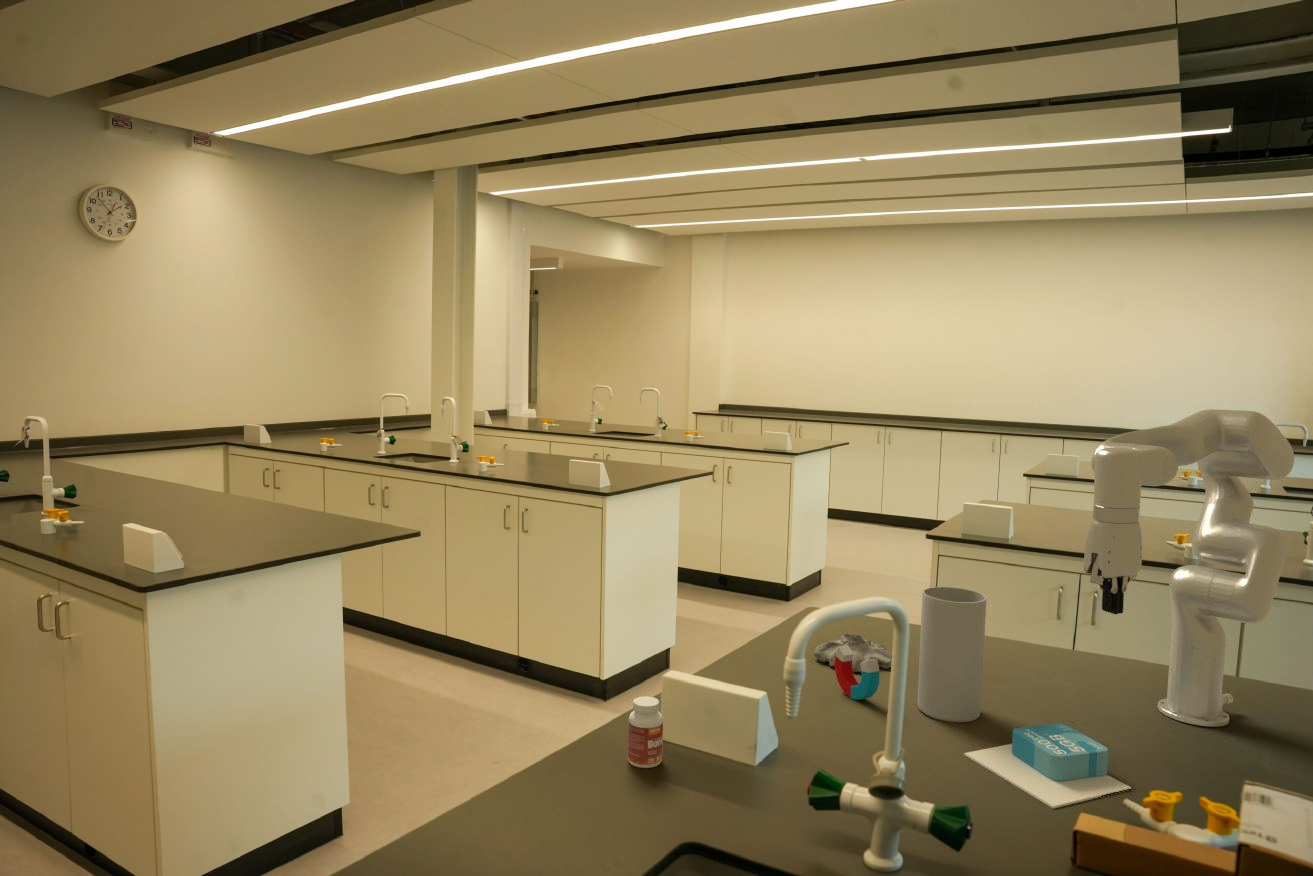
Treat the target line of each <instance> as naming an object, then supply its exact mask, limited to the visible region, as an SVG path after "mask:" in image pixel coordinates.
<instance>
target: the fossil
mask: <svg viewBox="0 0 1313 876" xmlns="http://www.w3.org/2000/svg"><path fill="white" fill-rule="evenodd" d="M862 636H863V635H860V634H848V633H844V634H843V635H841V637H840V639H834V640H830V641H826V642H823V643H821V644H819V645H817V646H816V647H815V650H814V652H813V655H814V656H815V658H816V659H817V660H818V661H819V662H821V663H822V662H823V664H826V663H829V667H830V668H835V656H836V652H837V649H838V647H840V646H846V645H848V646H849V647H850V649H851V650H852V652H853V653H854V656H853V659H852V671H853V673H861V666H860V663H862V662H864V661H866V660H871V659H877V661H878V665H879V669H884V670H885V669H889V668H891V667H890V666H891V657H893V655H892V654H891V653H890V652H889V651H888V650H887V648H886V646H885V644H882V643H881V644H875V643H873V642H872V641H871V639H869V638H867V639H863V638H862ZM833 666H834V667H833Z"/></svg>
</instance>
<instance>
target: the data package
mask: <svg viewBox="0 0 1313 876" xmlns="http://www.w3.org/2000/svg"><path fill="white" fill-rule="evenodd" d="M1011 740H1012V741H1011V744H1012V754H1013V755H1014V756H1016V757H1017V758H1019V759H1020V760H1022V761H1023V762H1025V763H1026V764H1028V765H1030V766H1031V767H1033V768H1034V769H1036V770H1037V771H1039V772H1040V773H1042V774H1043V775H1045V776H1046V777H1048V778H1049V779H1052V780H1055V781H1068V780H1075V779H1082V778H1090V777H1097V776H1104V775H1108V766H1109V749H1108V748H1107V747H1106V746H1105V745H1103V744H1101V743H1100V742H1097V741H1096V740H1095V739H1092V738H1090V737H1089V736H1087V735H1085V734H1083V733H1081V732H1079V731H1078V730H1076V729H1074V728H1072V727H1071V726H1069V725H1066V724H1064V723H1051V724H1041V725H1034V726H1033V725H1032V726H1024V727H1016V728H1013V730H1012V739H1011Z"/></svg>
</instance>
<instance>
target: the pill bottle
mask: <svg viewBox="0 0 1313 876" xmlns="http://www.w3.org/2000/svg"><path fill="white" fill-rule="evenodd" d="M632 709H633V711H631V712H630V714H629V717H628V731H627V734H628V739H627V740H628V741H627V759H628V762H629V764H631V766H634V767H637V768H641V769H648V768H649V769H650V768H654V767H657V766H659V765H660V764H661V762H662V761H663V740H664V739H663V736H664V735H663V734H664V733H663V732H664V717H663V715H662V713H661V712H660V701H659V699H658V698H656V697H653V696H648V695H647V696H646V695H645V696H638V697H635V698H634V699H633V700H632Z"/></svg>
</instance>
